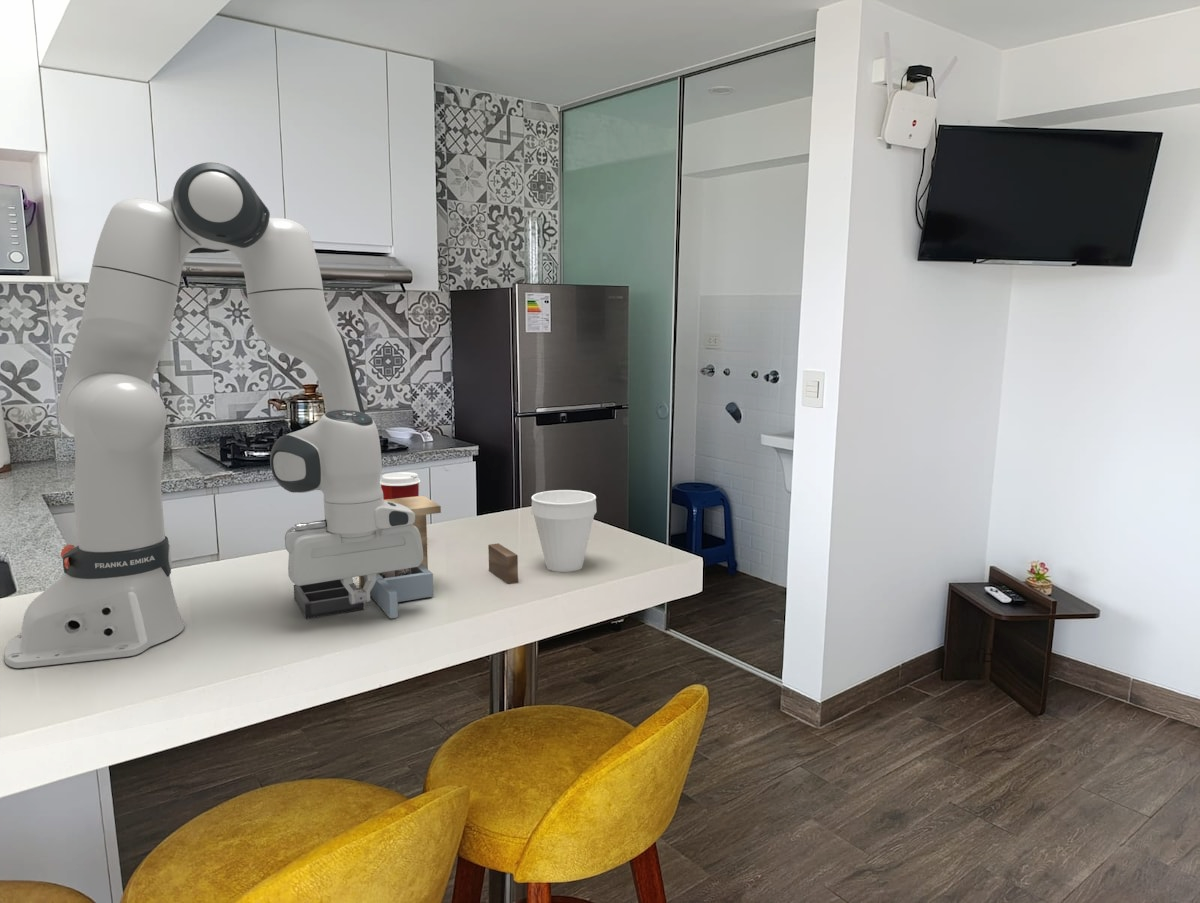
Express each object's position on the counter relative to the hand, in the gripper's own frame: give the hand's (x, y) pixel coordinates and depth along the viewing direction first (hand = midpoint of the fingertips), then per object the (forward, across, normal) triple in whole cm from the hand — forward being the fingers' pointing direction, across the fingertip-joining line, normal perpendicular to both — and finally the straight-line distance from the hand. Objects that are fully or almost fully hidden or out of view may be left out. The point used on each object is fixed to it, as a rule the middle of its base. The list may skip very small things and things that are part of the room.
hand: (359, 602), depth 131 cm
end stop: (+3, +28, +9) cm, 30 cm away
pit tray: (+3, -3, +10) cm, 10 cm away
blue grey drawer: (+2, +9, +5) cm, 10 cm away
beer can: (+3, +9, +9) cm, 13 cm away
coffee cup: (+3, +18, +38) cm, 42 cm away
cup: (+3, +41, +8) cm, 42 cm away
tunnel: (+3, +10, +11) cm, 15 cm away
